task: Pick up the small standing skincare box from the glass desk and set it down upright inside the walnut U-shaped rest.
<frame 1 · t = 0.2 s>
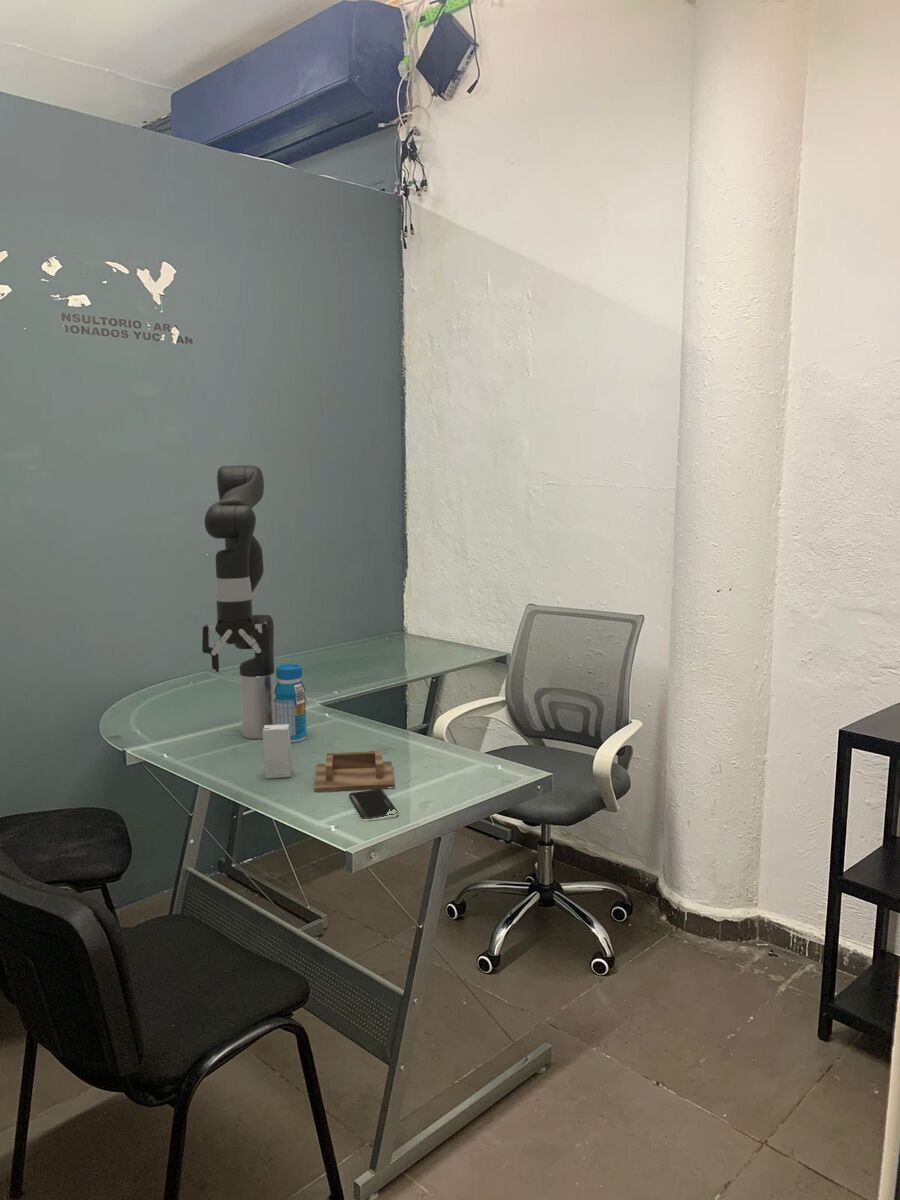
hand: (237, 670, 191), 28 cm above the table, tool pointing down, fingers open, 8 cm apart
skincare box: (278, 776, 205), on the table
phone: (373, 808, 186), on the table
u rest: (354, 778, 203), on the table
beverage bottle: (291, 739, 234), on the table
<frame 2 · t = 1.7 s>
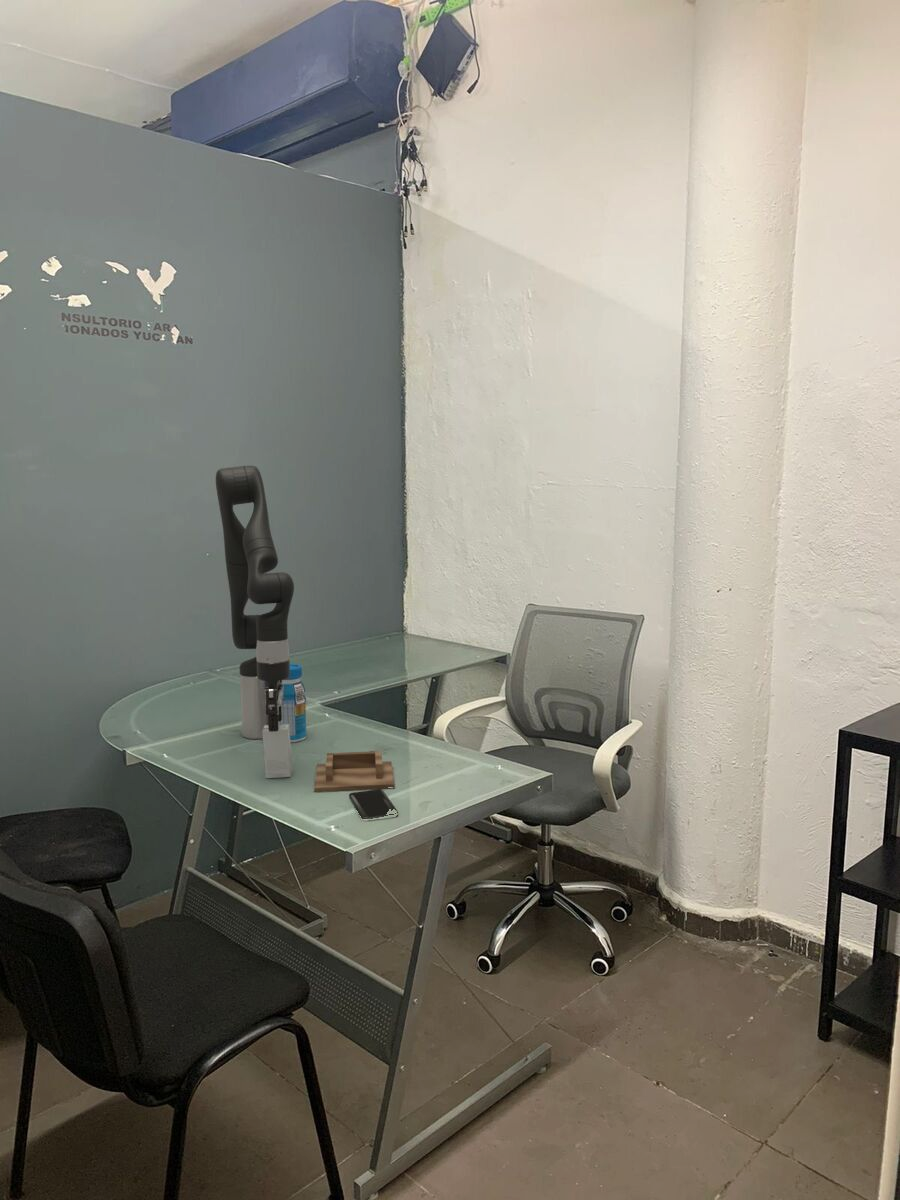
hand: (275, 726, 203), 12 cm above the table, tool pointing down, fingers open, 8 cm apart
nothing on the table moved.
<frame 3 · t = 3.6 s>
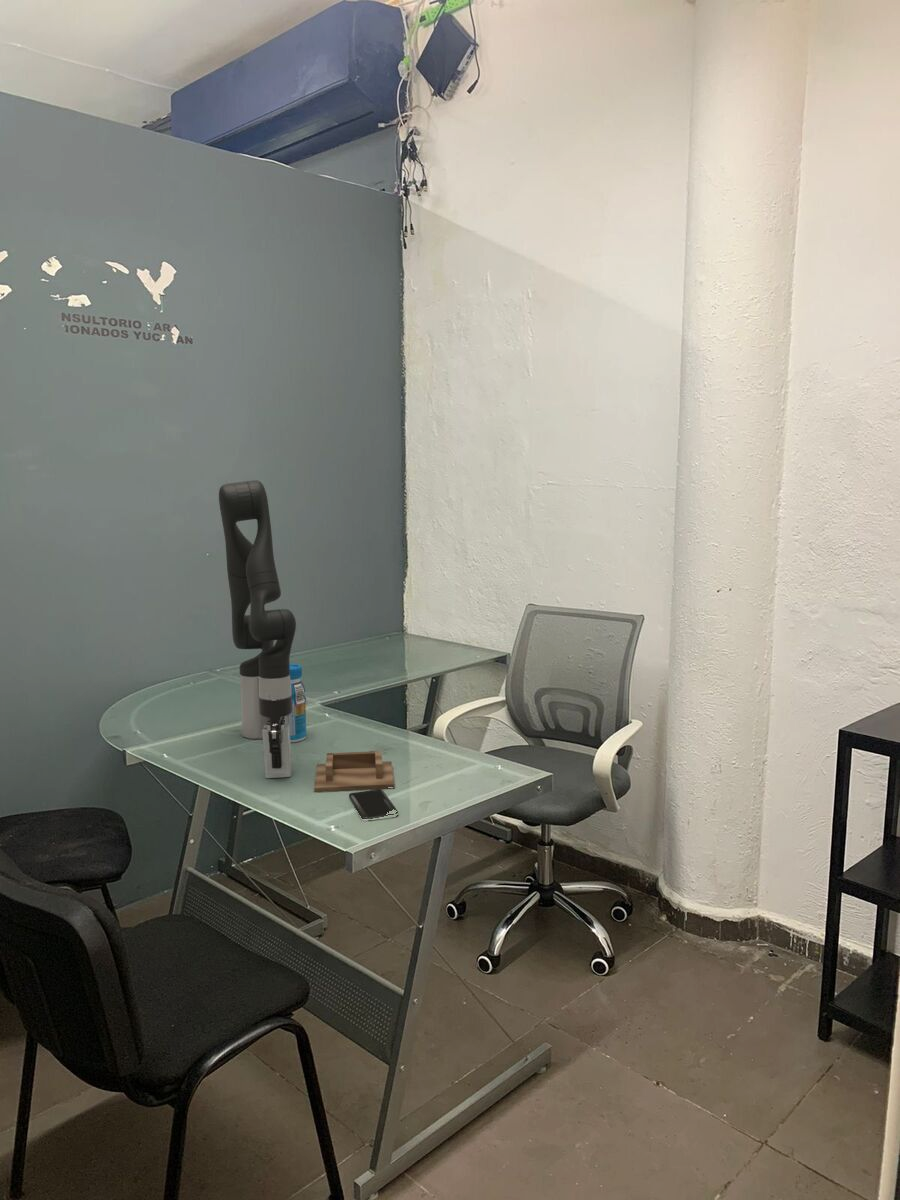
hand: (277, 764, 205), 3 cm above the table, tool pointing down, fingers closed on skincare box, 4 cm apart
skincare box: (278, 776, 206), on the table, touching gripper
everything else where it was.
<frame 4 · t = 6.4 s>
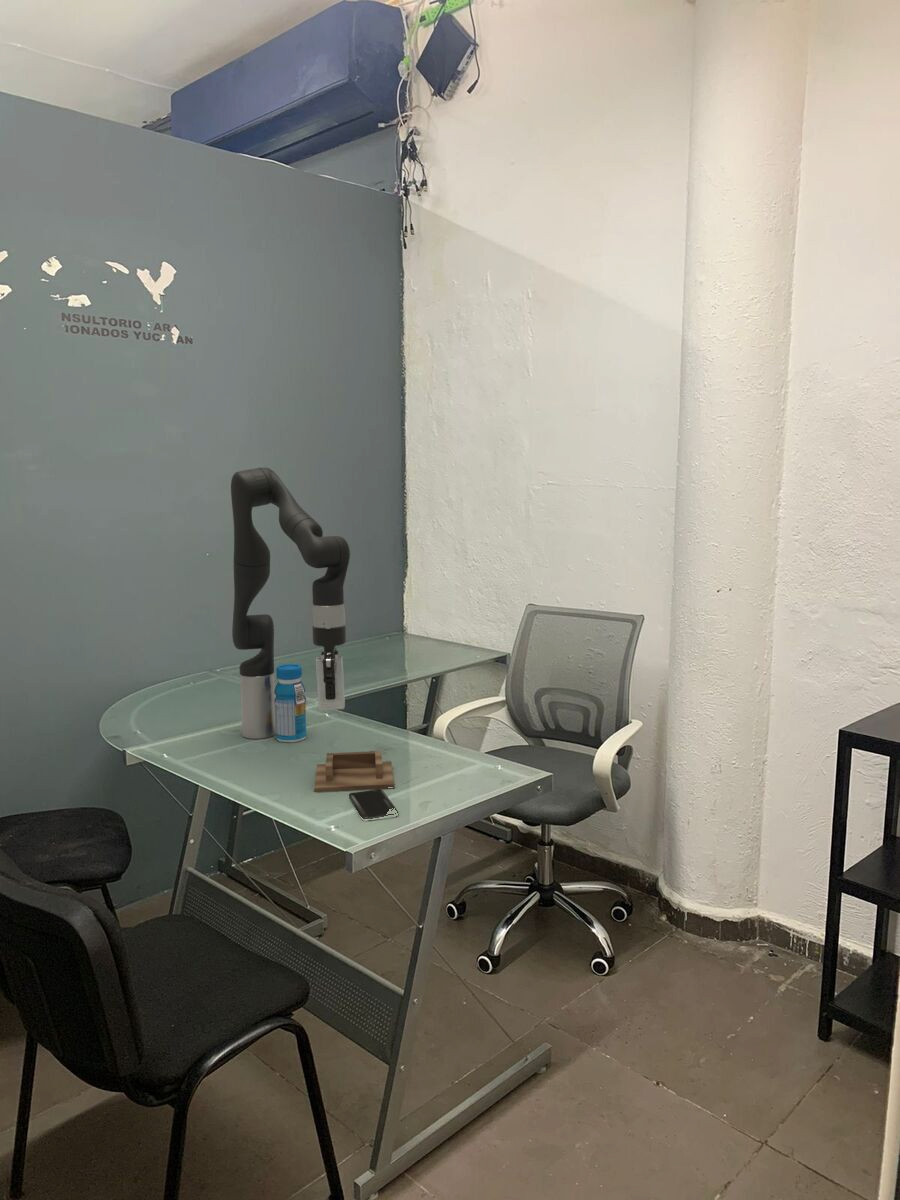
hand: (331, 696, 200), 20 cm above the table, tool pointing down, fingers closed on skincare box, 4 cm apart
skincare box: (331, 709, 201), point 17 cm above the table, touching gripper
everything else where it was.
when the fingers open (5 cm above the table, at t = 9.6 s): skincare box drops 1 cm, resting on u rest.
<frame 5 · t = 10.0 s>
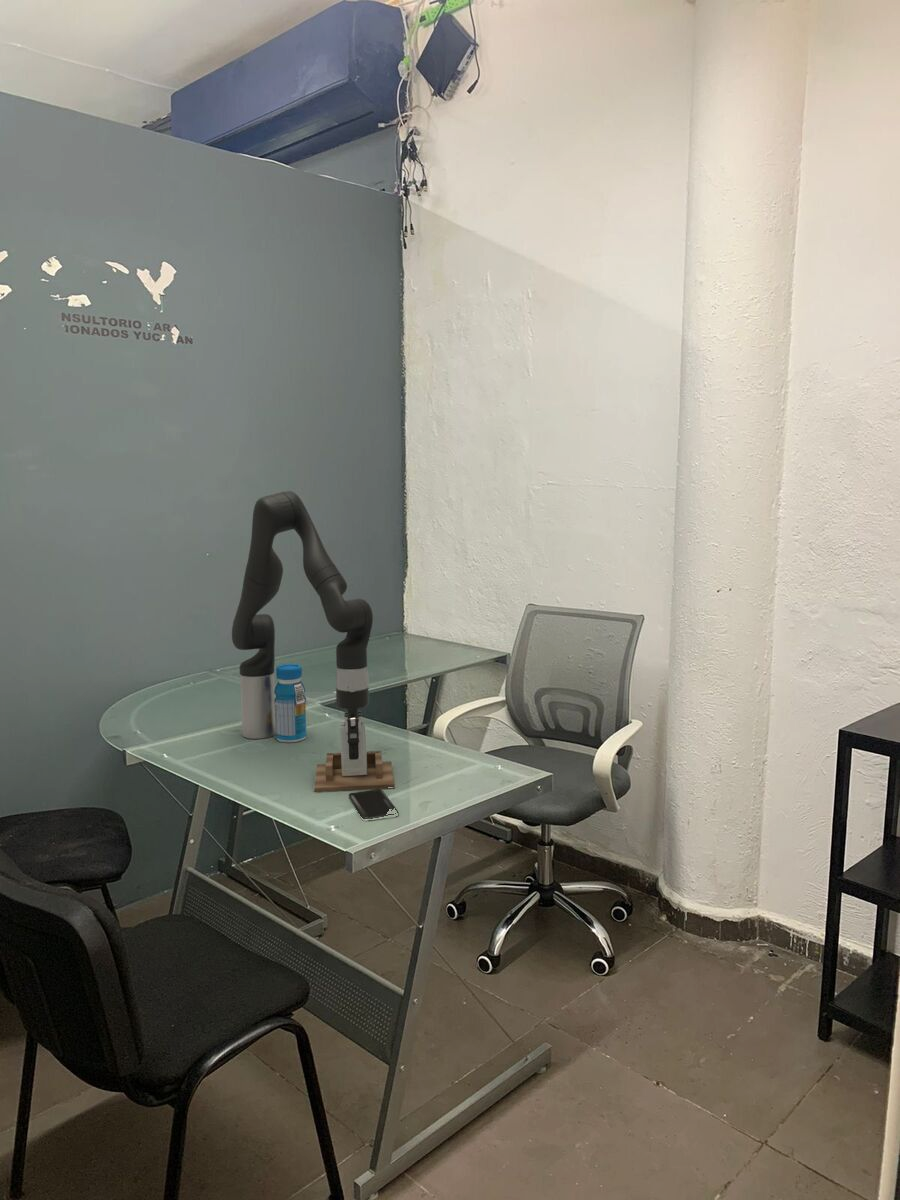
hand: (353, 753, 203), 6 cm above the table, tool pointing down, fingers open, 8 cm apart
skincare box: (354, 774, 203), point 1 cm above the table, touching u rest
everything else where it was.
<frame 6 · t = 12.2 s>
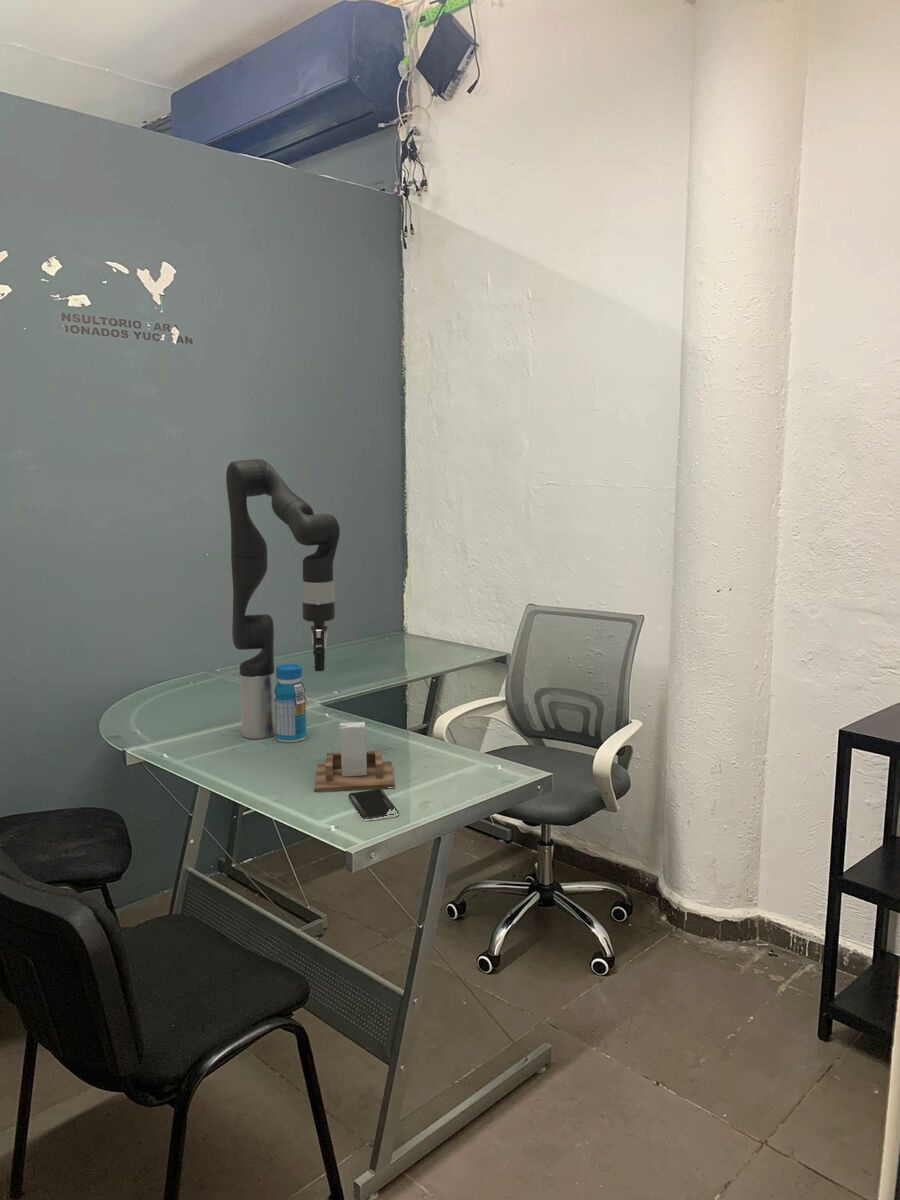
hand: (319, 666, 206), 25 cm above the table, tool pointing down, fingers open, 8 cm apart
nothing on the table moved.
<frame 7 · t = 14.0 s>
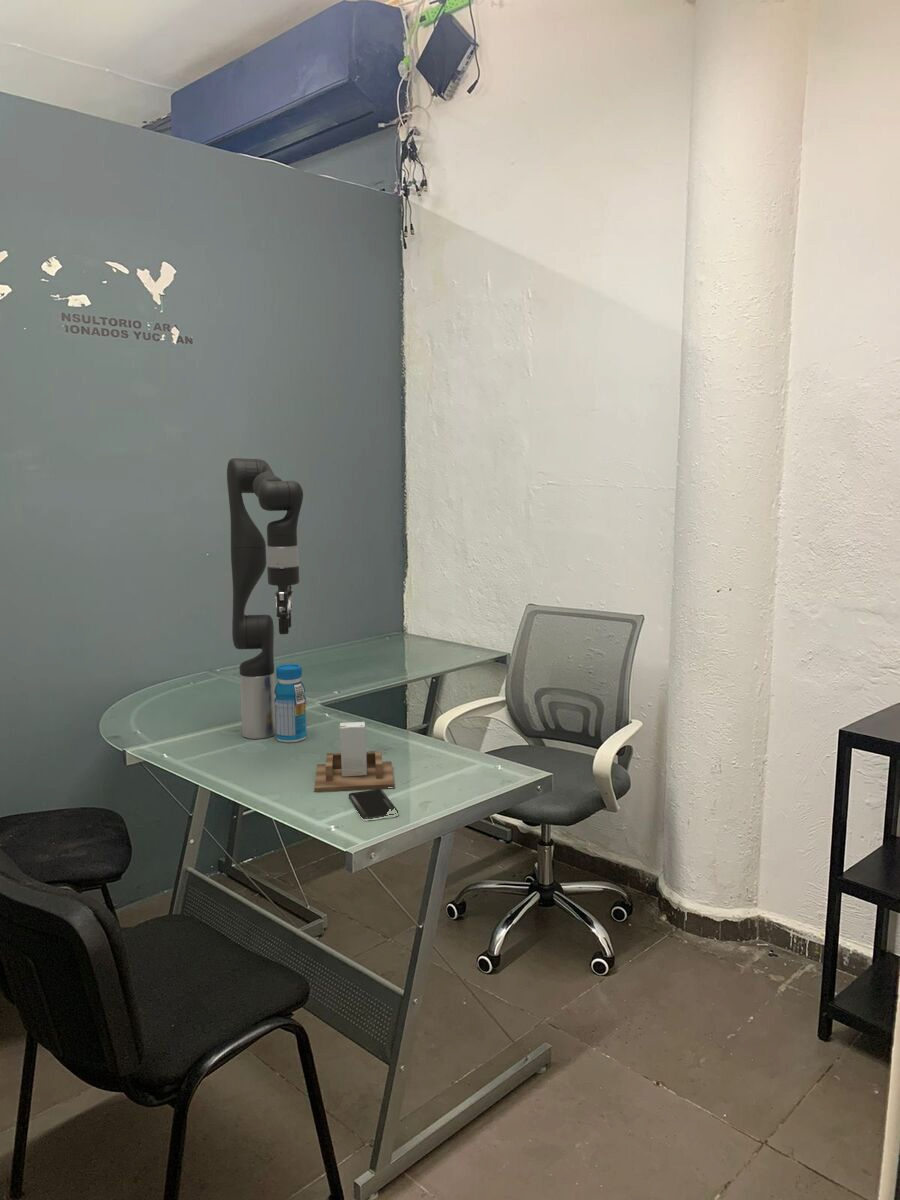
hand: (285, 630, 211), 33 cm above the table, tool pointing down, fingers open, 8 cm apart
nothing on the table moved.
at the end: skincare box 0.1 cm off-centre on the u rest, point 0.8 cm above the u rest's base; skincare box tilted 0°; the gripper is holding nothing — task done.
